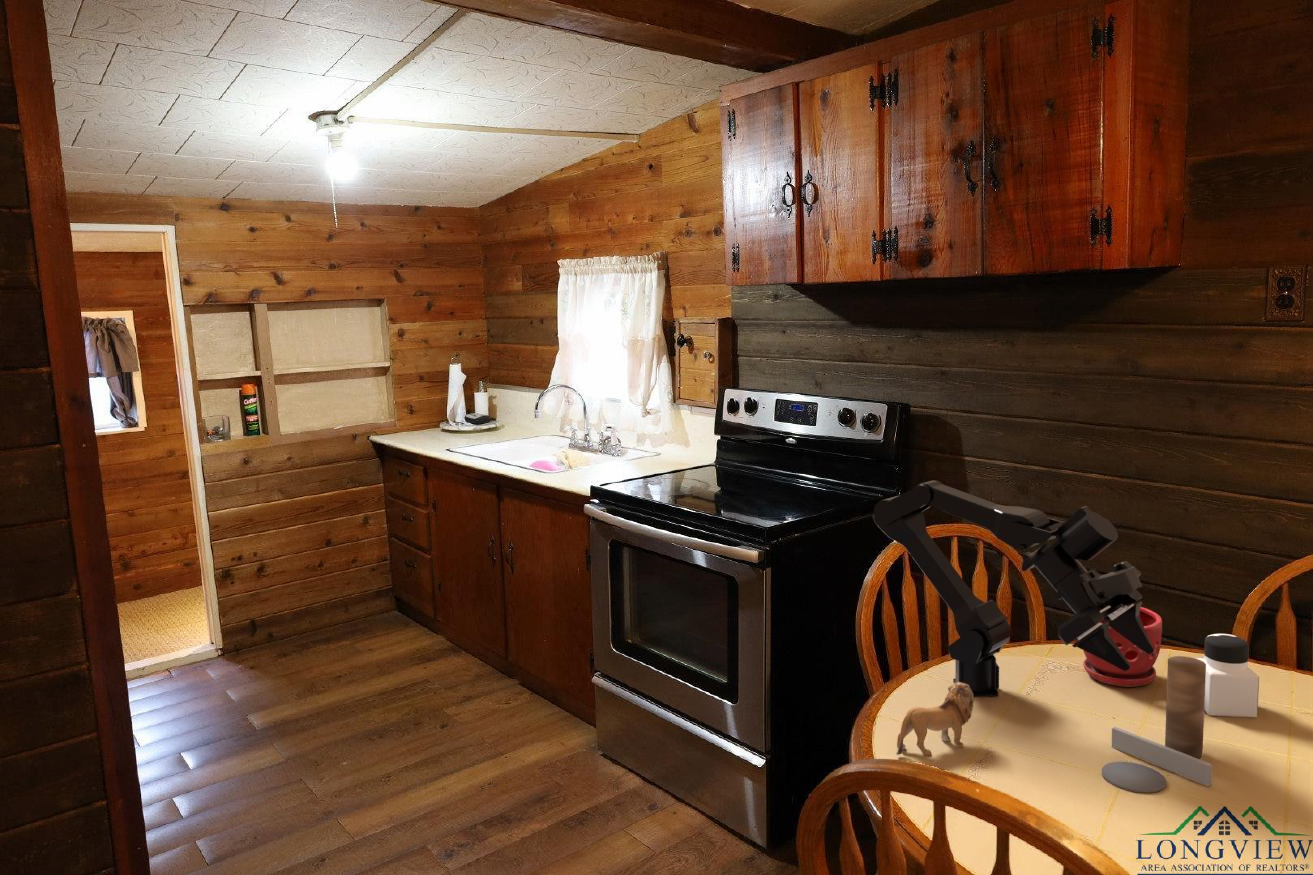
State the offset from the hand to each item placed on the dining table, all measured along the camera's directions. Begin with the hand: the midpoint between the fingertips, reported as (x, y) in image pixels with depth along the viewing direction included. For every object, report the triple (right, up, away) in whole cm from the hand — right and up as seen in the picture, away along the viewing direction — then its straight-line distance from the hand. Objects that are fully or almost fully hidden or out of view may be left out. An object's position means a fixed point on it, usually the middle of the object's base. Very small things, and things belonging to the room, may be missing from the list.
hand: (1140, 660), depth 134 cm
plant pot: (+9, -9, +24) cm, 28 cm away
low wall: (-1, -13, -6) cm, 15 cm away
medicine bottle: (+20, -11, +11) cm, 25 cm away
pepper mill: (+5, -13, -3) cm, 14 cm away
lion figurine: (-30, -14, +2) cm, 33 cm away
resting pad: (-6, -14, -10) cm, 18 cm away
